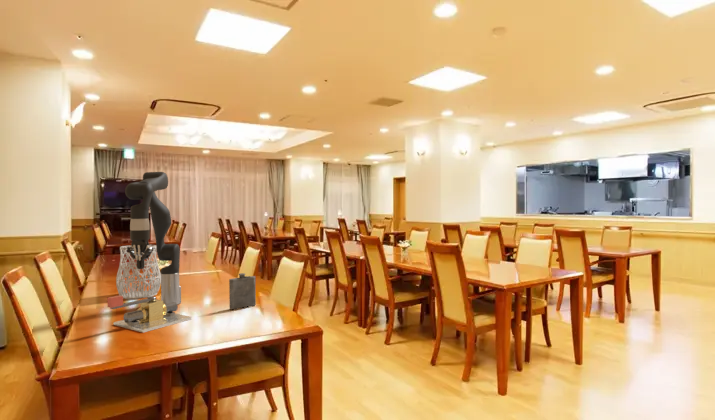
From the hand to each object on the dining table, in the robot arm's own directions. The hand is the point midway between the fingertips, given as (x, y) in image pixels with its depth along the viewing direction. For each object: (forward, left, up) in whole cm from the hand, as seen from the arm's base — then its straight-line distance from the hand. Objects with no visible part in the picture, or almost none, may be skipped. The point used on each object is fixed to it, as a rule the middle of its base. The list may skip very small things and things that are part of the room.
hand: (140, 268), depth 182 cm
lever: (-1, -8, -17) cm, 19 cm away
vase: (-41, -70, -27) cm, 85 cm away
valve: (-10, -8, -27) cm, 30 cm away
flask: (-51, +8, -27) cm, 58 cm away
